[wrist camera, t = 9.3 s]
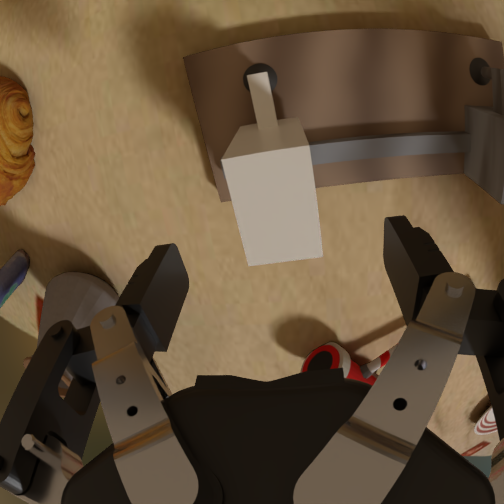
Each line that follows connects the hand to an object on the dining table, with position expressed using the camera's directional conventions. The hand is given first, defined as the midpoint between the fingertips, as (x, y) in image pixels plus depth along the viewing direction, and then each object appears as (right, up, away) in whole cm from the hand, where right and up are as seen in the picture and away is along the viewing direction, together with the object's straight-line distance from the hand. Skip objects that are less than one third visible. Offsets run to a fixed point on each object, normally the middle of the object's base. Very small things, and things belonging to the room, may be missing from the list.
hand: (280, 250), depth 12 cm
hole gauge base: (+8, +11, +9) cm, 17 cm away
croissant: (-29, +13, +12) cm, 34 cm away
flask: (-33, -2, +23) cm, 40 cm away
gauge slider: (0, +8, +10) cm, 13 cm away
